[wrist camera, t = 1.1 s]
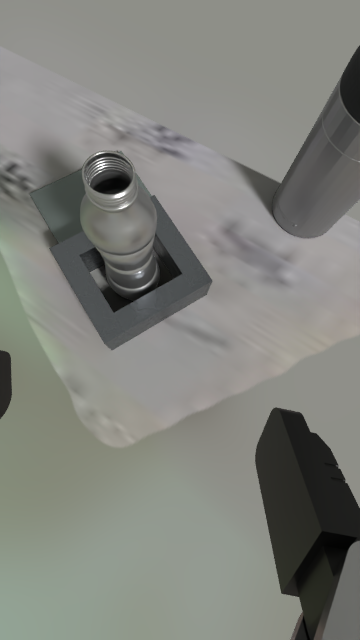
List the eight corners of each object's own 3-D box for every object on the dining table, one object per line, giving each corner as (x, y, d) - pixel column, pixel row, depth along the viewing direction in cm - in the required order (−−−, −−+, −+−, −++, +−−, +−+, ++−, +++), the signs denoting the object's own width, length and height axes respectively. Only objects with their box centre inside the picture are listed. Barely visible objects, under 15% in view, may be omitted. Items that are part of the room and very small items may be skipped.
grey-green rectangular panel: (122, 156, 44) (121, 150, 44) (154, 203, 43) (153, 199, 42) (32, 198, 42) (29, 193, 41) (62, 250, 41) (60, 246, 40)
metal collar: (155, 217, 42) (154, 195, 38) (206, 294, 40) (212, 280, 35) (63, 265, 40) (49, 248, 35) (112, 350, 38) (104, 343, 33)
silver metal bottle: (134, 314, 39) (107, 236, 20) (98, 278, 40) (38, 169, 20) (170, 281, 40) (177, 176, 21) (135, 247, 41) (110, 116, 22)
